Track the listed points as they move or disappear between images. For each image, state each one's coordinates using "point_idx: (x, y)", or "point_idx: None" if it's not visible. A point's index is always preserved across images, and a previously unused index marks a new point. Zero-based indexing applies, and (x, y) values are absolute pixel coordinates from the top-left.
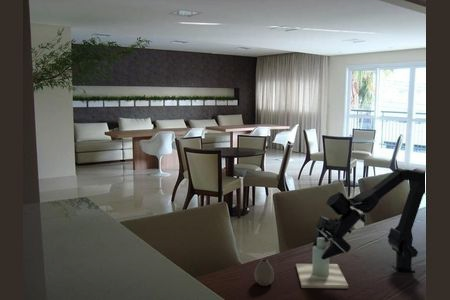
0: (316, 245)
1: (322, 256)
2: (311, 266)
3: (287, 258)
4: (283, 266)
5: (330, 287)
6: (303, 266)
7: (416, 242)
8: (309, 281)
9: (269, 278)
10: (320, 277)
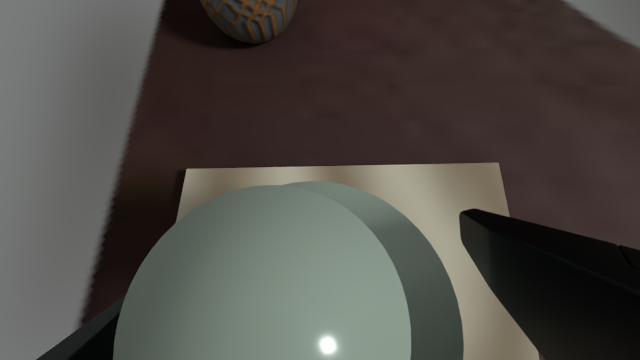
0: (420, 256)
1: (118, 300)
2: (464, 267)
3: (627, 128)
4: (477, 102)
5: None
6: (455, 207)
7: None
8: None
9: (203, 6)
10: None
